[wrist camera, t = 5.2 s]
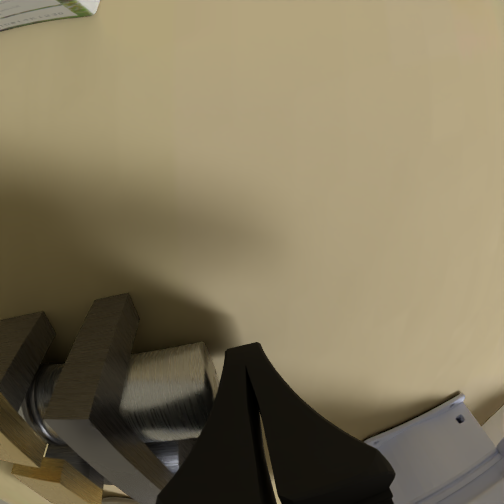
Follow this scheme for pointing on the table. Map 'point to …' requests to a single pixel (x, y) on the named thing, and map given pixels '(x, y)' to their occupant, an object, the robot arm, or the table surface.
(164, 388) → the tube
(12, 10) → the syrup box
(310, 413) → the robot arm
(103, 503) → the can
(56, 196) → the table surface
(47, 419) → the collar bracket
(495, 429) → the container
